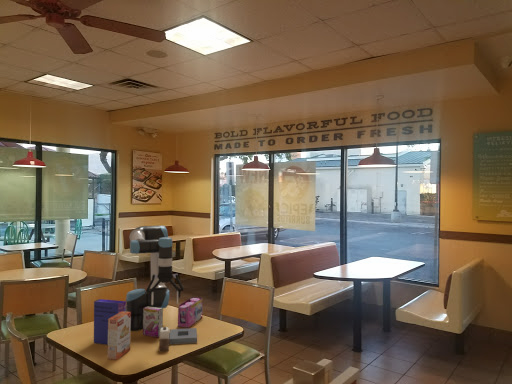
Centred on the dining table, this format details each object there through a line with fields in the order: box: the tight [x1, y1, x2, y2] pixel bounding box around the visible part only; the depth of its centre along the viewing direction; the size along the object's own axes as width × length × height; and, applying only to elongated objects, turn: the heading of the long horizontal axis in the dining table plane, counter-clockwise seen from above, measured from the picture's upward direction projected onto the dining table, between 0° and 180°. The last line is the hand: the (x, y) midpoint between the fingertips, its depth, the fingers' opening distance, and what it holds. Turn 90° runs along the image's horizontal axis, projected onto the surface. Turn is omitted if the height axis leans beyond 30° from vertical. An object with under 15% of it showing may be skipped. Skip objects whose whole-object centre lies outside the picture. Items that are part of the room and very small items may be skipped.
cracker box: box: [106, 311, 131, 361], centre depth 207 cm, size 14×6×21 cm, turn 170°
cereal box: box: [93, 298, 126, 346], centre depth 223 cm, size 17×5×24 cm, turn 76°
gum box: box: [177, 296, 204, 328], centre depth 261 cm, size 24×8×14 cm, turn 164°
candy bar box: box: [142, 306, 164, 338], centre depth 236 cm, size 11×5×16 cm, turn 71°
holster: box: [158, 333, 170, 352], centre depth 217 cm, size 5×10×6 cm, turn 10°
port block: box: [169, 327, 198, 345], centre depth 231 cm, size 16×16×3 cm
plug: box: [159, 326, 170, 339], centre depth 217 cm, size 4×6×11 cm
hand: (165, 303), depth 217 cm, fingers open, 13 cm apart
